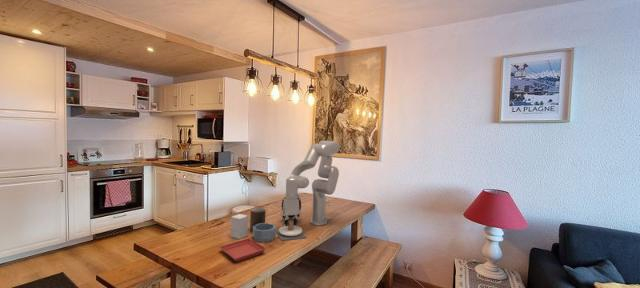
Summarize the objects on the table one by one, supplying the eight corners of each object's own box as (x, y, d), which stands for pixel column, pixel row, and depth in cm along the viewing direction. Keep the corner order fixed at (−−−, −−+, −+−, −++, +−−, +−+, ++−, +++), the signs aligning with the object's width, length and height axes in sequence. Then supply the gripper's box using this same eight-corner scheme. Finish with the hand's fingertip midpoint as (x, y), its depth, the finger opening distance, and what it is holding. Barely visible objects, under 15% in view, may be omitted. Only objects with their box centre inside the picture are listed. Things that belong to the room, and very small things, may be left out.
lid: (298, 227, 181) (298, 215, 180) (305, 236, 167) (305, 223, 167) (276, 229, 175) (276, 217, 175) (281, 238, 162) (282, 225, 161)
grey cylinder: (261, 233, 170) (262, 210, 169) (247, 232, 172) (247, 208, 171) (267, 228, 179) (268, 206, 179) (253, 227, 181) (254, 205, 181)
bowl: (272, 233, 172) (272, 222, 171) (276, 241, 159) (277, 229, 159) (251, 235, 167) (252, 224, 167) (254, 243, 155) (254, 231, 154)
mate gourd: (303, 224, 189) (304, 196, 188) (283, 226, 184) (284, 197, 183) (296, 217, 204) (297, 191, 203) (278, 219, 198) (279, 192, 197)
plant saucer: (218, 252, 143) (219, 246, 143) (249, 243, 156) (249, 237, 156) (234, 265, 131) (235, 258, 130) (266, 254, 143) (266, 248, 143)
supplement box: (248, 235, 166) (248, 215, 165) (238, 239, 160) (239, 218, 159) (239, 233, 170) (240, 213, 169) (230, 236, 163) (230, 216, 163)
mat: (297, 226, 184) (297, 225, 184) (306, 238, 166) (306, 237, 166) (274, 229, 179) (274, 228, 179) (281, 241, 160) (281, 240, 160)
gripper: (302, 195, 177) (301, 222, 177) (277, 196, 170) (276, 224, 171) (306, 197, 170) (305, 226, 170) (279, 199, 163) (278, 228, 164)
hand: (290, 224), depth 171 cm, fingers open, 5 cm apart
